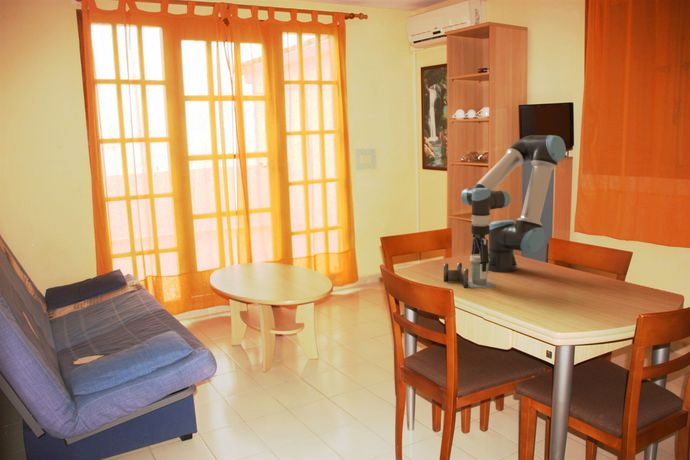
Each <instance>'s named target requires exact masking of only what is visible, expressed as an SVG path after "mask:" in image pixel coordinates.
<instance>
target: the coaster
mask: <svg viewBox="0 0 690 460" xmlns="http://www.w3.org/2000/svg"><path fill="white" fill-rule="evenodd" d="M468 286H469V287H470V288H469V287H468V288H469V289H486V288H487V289H488V288H497V286H496V285H495V284H494V283H493V282H492V281H490V279H488V278H487V281H486V284H484V285H477V284H473V283H472V279H468Z"/></svg>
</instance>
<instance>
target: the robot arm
mask: <svg viewBox="0 0 690 460" xmlns="http://www.w3.org/2000/svg"><path fill="white" fill-rule="evenodd" d="M566 149H567V147H566V144H565V141H564V139H563V138H562V137H561V136H558V135H552V134H549V135H545V134H544V135H542V134H541V135H534V134H533V135H526V136H524V137H522V138H520V139H519V140H516V142H514V143H513V144H511V146H509V147H508V149H507V150H505V154H504V156H503V157H501V158H500V160H499V161H498V162H497V163H495V164H494V166H492V168H491V169H489V170H488V172H487V173H486V174H485V175H484V176H483V177H482V178H480V179H479V181H477V183H476V184H475V185H473V186H472V187H471V188H470V187H468V188H465V189H463V190H462V191H461V195H460V200H461V202H462V203H463V204H464V205H467V206H470V207H471V216H470V220H471V226H470V227H471V234H472V245H471V253H470V255H474V254H480V259H481V262H480V263H479V264H480V279H488V274H487V263H489V267H488V271H491V272H496V273H497V272H498V273H506V272H507V273H509V272H515V271H517V270H518V264H517V260H516V256H515V254H514V252H515V251H519V252H523V253H531V254H532V253H536V252H538V251H539V250H541V248H542V247H543V245H544V243H545V240H546V235H545V234H546V232H545V230H544V229H543V224H542V223H541V217H542V215H543V214H542V213H543V210H544V207H545V206H544V205H545V200H546V197H547V194H548V188H549V185H550V182H551V176H552V172H553V170H555V169H556V168H557V166H558V163H560V162H562V161H563V160H564V159H565V157H566V153H567V150H566ZM528 161H530V163H531V164H530V165H531V166H532V168H531V172H530V177H529V179H528V180H529V182H528V185H527V188H526V194H525V198H524V200H523V201H524V202H523V206H522V211H521V213H520V217H518V218H516V220H514V219H513V220H512V219H505V220H504V219H503V220H496V221H495V220H494V221H491V219H490V218H491V210H497V209H504V208H508V206H509V205H510V204H511V194H510V193H509V192H508V191H506V190H495V189H496V188H497V187H498V186H499V185H500V184H501V183H502V182H503V181H504V180H505V179H506V178H507V177H508V176H509V175H510V173H512V172H513V171H514V169H516V168H517V167H519V166H522V165H523V164H524V163H525V162H528ZM487 235H488V239H487V238H486V236H487ZM489 259H490V261H489Z"/></svg>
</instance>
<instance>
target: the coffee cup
mask: <svg viewBox="0 0 690 460" xmlns="http://www.w3.org/2000/svg"><path fill="white" fill-rule="evenodd" d="M469 261H470V271H471V280H472V283H473V284H477V285H484V284H486V281H487V279H488V278H487V279H480V264H479V263H480V262H481V259H480V253H479V254H474V255H472V254H470V257H469ZM489 261H490V259H489ZM488 267H489V263H487V275H488V273H489V270H488Z"/></svg>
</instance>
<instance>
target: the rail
mask: <svg viewBox="0 0 690 460" xmlns="http://www.w3.org/2000/svg"><path fill="white" fill-rule="evenodd" d="M456 265H457V266H456V269H449V263H446V262H445V263H443V282H444V283H448V281H453V282H458V281H459V282H460V283H461V284H462V285H463V286H462V285H461V286H462V287H464V289H468V288H469V287H468V280H469V268H463V263H462V262H457V264H456ZM460 283H459V284H460Z"/></svg>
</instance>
